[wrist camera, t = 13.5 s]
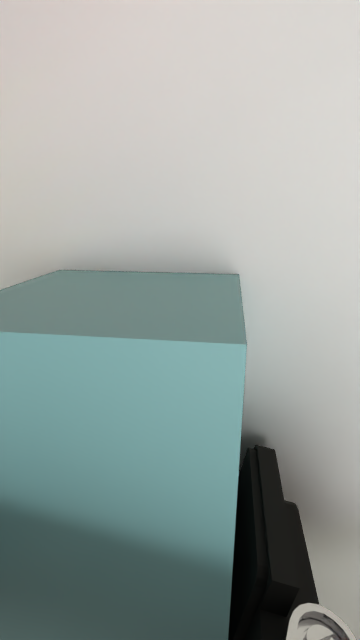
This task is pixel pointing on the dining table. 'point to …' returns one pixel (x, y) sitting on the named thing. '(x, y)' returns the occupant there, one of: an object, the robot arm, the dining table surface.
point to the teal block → (119, 454)
